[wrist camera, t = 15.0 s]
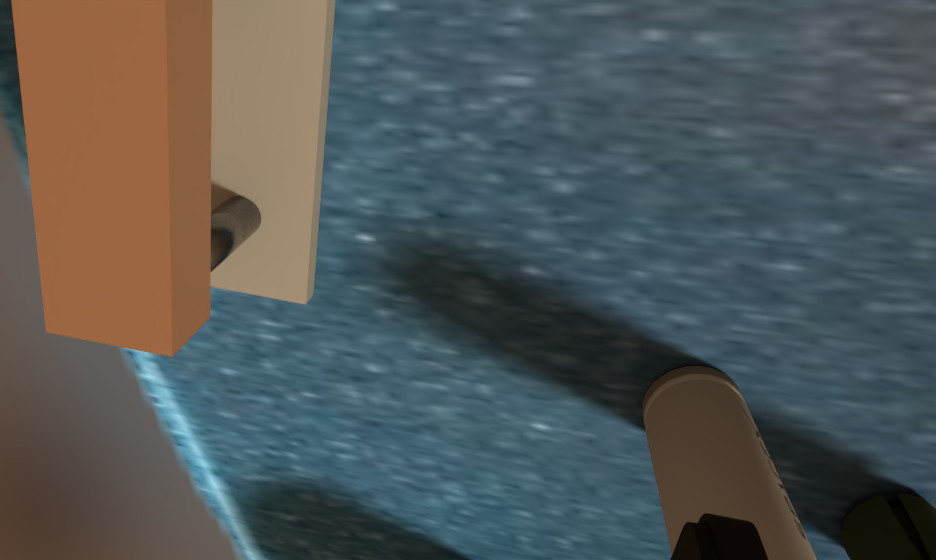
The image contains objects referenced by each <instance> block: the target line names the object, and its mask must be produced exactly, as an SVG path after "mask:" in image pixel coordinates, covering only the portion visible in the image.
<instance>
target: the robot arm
mask: <svg viewBox="0 0 936 560" xmlns="http://www.w3.org/2000/svg"><path fill="white" fill-rule="evenodd" d="M671 560H769V559H768V557H767V554H766V551H765V549H764V546H763V543H762V541H761V538H760V535H759V533H758V530H757V529H756V527H755V525H754V524H753V523H752V522H750V521H745V520H740V519H735V518H730V517H725V516H720V515H715V514H709V513H705V514H703V515H702V516H701V517H700V519H699V521H698V523H693V522H687V523H686V524H685V525H684V527H683V529H682V531H681V533H680V536H679V539H678V541H677V544H676V547H675V549H674V552H673V554H672V557H671Z"/></svg>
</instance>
